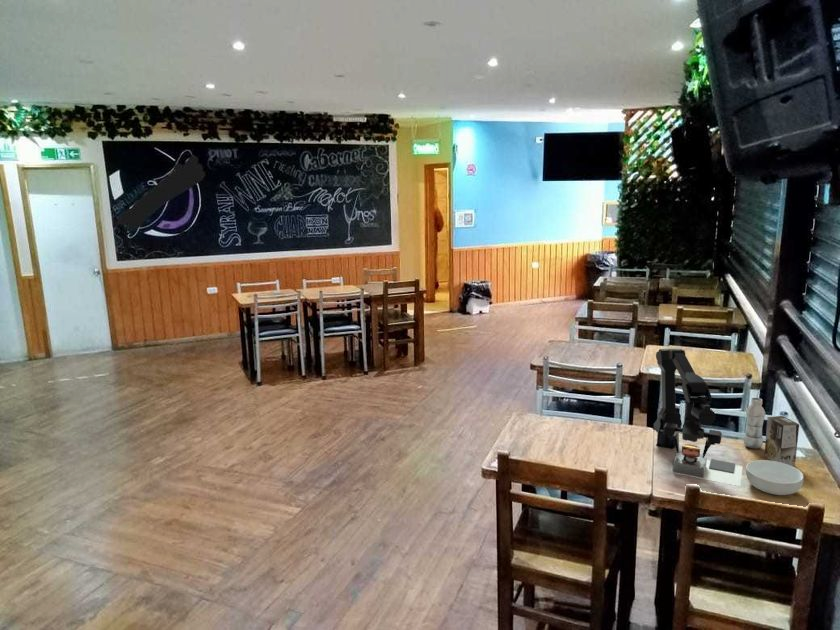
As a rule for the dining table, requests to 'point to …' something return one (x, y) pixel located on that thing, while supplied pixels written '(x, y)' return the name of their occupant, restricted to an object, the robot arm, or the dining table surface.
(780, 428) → the coffee box
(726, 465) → the pad
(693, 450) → the copper disc with stripe
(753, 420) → the plastic bottle
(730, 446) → the dining table surface
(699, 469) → the metal block
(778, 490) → the cereal bowl
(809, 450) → the dining table surface
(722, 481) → the board
